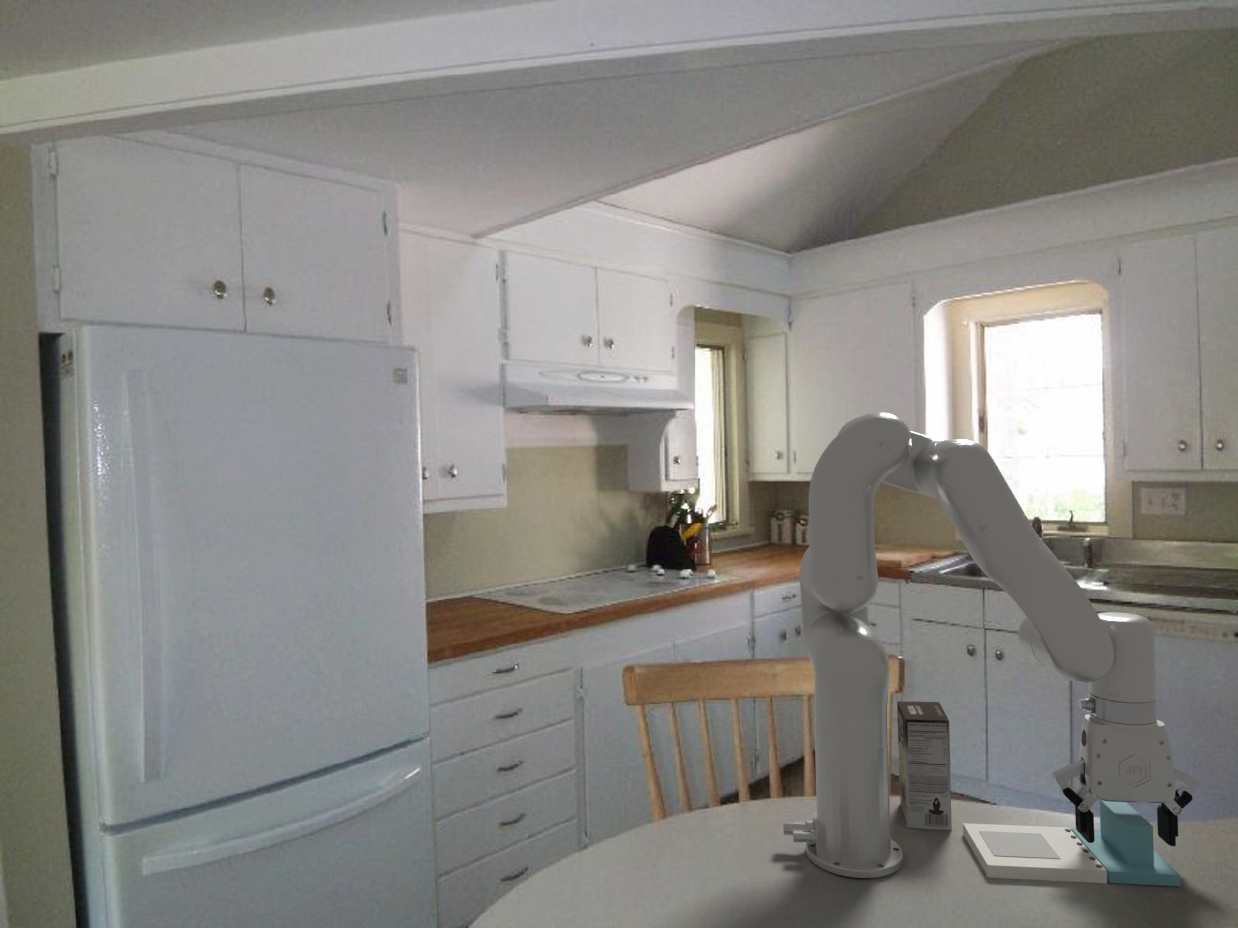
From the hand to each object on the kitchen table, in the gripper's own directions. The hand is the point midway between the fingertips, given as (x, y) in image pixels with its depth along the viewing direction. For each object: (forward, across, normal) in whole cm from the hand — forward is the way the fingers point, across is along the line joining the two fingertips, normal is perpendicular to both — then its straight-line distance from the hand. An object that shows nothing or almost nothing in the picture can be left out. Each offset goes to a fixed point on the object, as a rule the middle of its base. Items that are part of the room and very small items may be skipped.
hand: (1126, 839), depth 106 cm
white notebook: (+3, -12, 0) cm, 12 cm away
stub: (+3, -1, 0) cm, 3 cm away
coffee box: (+3, -23, +12) cm, 26 cm away
